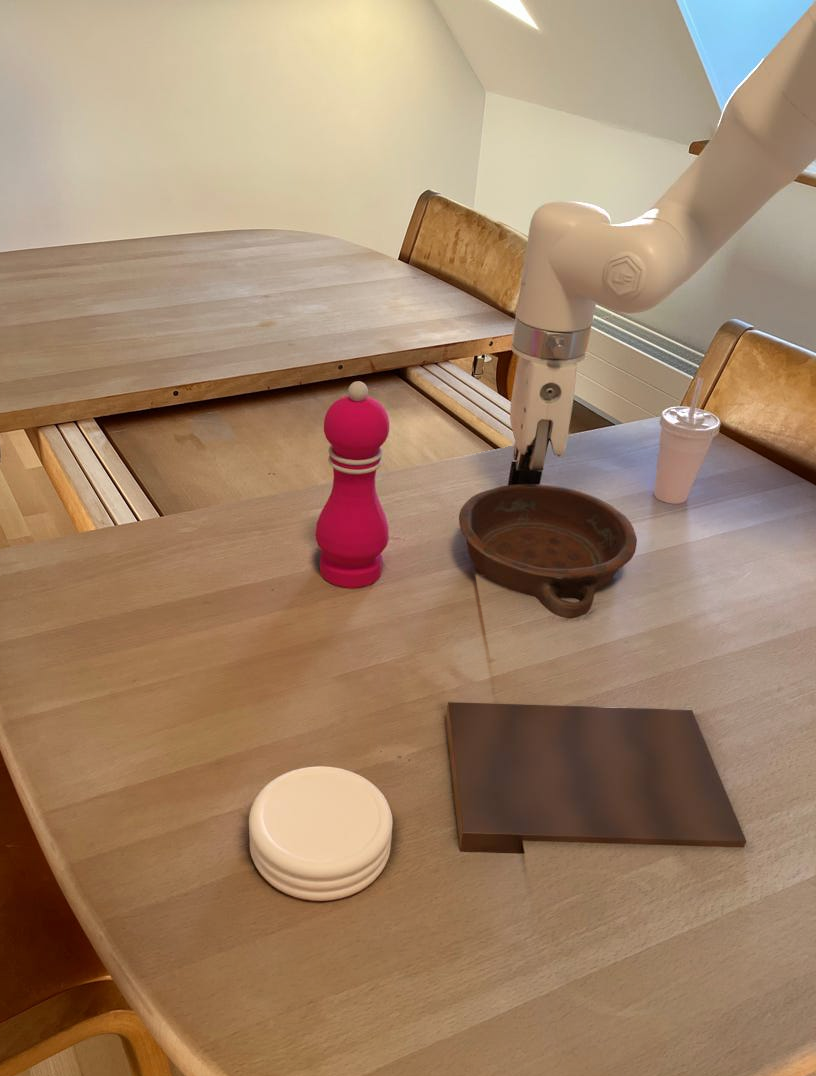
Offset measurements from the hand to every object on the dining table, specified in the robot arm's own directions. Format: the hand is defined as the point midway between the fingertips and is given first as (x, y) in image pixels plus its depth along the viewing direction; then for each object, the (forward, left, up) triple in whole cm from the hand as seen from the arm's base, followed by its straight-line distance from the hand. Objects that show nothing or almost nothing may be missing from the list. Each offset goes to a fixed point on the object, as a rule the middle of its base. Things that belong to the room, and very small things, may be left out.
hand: (521, 497), depth 109 cm
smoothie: (-18, -4, -1) cm, 18 cm away
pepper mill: (+19, +14, -1) cm, 24 cm away
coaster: (+21, +50, -1) cm, 55 cm away
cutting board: (+1, +43, -1) cm, 43 cm away
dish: (0, +12, -1) cm, 12 cm away
